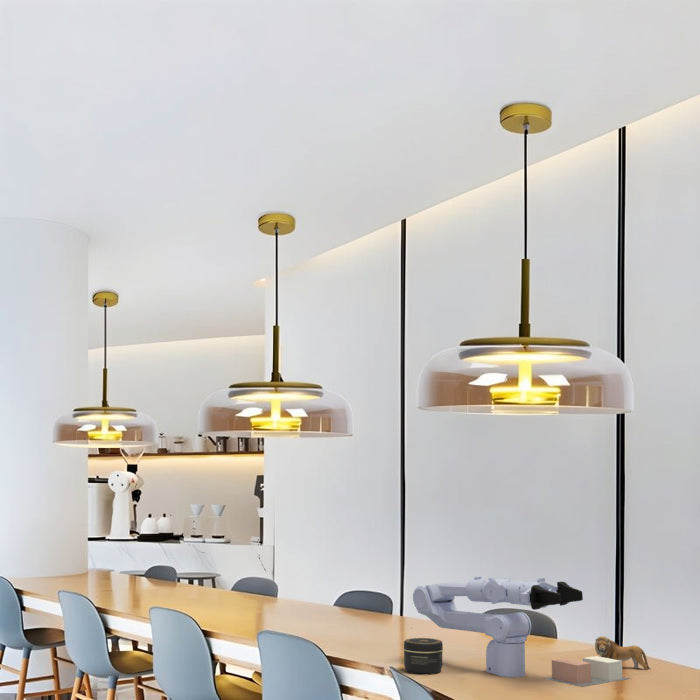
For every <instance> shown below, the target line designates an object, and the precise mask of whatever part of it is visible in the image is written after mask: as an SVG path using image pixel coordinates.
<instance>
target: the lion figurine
mask: <svg viewBox="0 0 700 700" xmlns="http://www.w3.org/2000/svg"><path fill="white" fill-rule="evenodd" d="M594 649H595V652H596V654H597V655H598V656H599V657H604V658H609V659H615V660H620V661H622V662H626V661H629V660H630V659H632V662H633V668H634V669H638V668H639V665H640V666H641V667H642V668H643V669H644V671H648V670H651V667H649V664H648V659H647V656H646V653H645V651H644V649H642V648H641V647H640V646H638V645H630V646H628V645H627V646H621V645H619V644H617V642H615V641H614V640H611V639H610V638H608V637H607V636H604V635H602V636H598V637H597V638H595V643H594Z"/></svg>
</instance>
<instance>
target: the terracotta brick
mask: <svg viewBox="0 0 700 700" xmlns="http://www.w3.org/2000/svg"><path fill="white" fill-rule="evenodd" d="M551 677H552V678H554V679H558V680H563V681H568V682H572V683H577V684H578V683H585V682H591V663H587V662H583V660H577V659H572V658H566V657H565V658H559V659H558V658H556V659H551Z"/></svg>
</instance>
